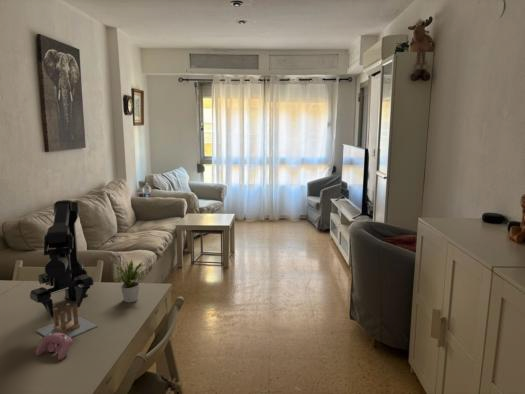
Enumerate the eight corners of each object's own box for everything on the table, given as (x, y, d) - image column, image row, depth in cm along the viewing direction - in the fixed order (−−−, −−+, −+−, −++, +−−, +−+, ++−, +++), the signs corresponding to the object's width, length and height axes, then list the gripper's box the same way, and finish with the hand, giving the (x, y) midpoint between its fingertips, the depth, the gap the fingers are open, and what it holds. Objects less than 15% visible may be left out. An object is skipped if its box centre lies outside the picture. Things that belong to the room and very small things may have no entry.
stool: (70, 322, 139) (69, 302, 138) (80, 326, 136) (78, 307, 134) (53, 328, 134) (51, 309, 133) (62, 334, 131) (60, 313, 130)
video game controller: (70, 359, 120) (76, 335, 122) (59, 360, 116) (65, 335, 118) (45, 354, 123) (51, 330, 125) (33, 355, 119) (39, 330, 121)
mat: (75, 315, 145) (75, 314, 145) (97, 326, 137) (97, 325, 136) (35, 331, 134) (35, 330, 134) (56, 344, 125) (56, 343, 125)
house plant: (156, 302, 156) (154, 262, 153) (120, 311, 148) (117, 269, 145) (144, 290, 167) (142, 253, 165) (110, 298, 160) (108, 259, 157)
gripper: (75, 255, 143) (79, 296, 146) (19, 270, 129) (24, 315, 131) (92, 261, 137) (96, 304, 139) (36, 277, 122) (41, 325, 125)
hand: (65, 311), depth 134 cm, fingers open, 9 cm apart
